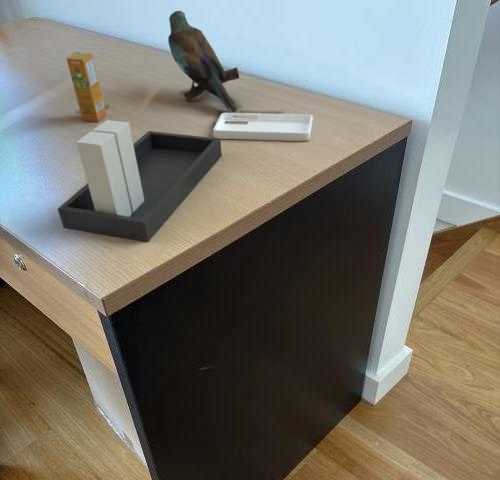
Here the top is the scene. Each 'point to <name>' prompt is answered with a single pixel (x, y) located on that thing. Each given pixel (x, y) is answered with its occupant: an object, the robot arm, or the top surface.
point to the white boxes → (111, 168)
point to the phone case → (265, 127)
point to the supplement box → (86, 86)
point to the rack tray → (149, 186)
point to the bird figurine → (199, 61)
